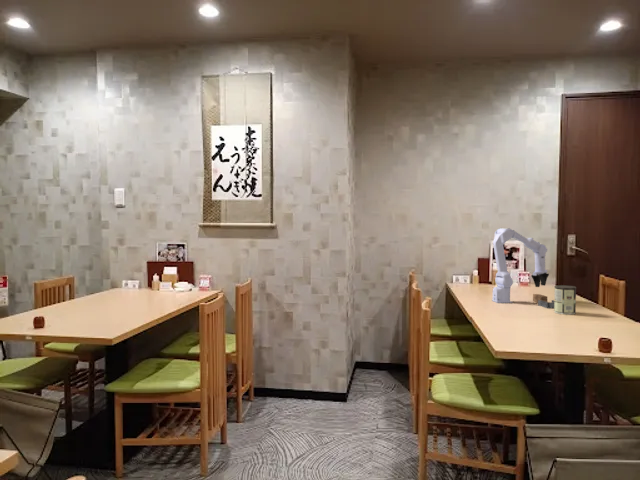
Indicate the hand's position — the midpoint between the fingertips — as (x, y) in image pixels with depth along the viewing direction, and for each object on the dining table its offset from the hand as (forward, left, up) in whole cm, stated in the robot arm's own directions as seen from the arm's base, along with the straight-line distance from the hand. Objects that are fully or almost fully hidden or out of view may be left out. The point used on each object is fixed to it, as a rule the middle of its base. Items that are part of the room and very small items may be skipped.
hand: (540, 286), depth 290 cm
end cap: (-5, -19, -9) cm, 22 cm away
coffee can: (-7, -37, -9) cm, 39 cm away
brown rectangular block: (-3, -5, -9) cm, 11 cm away
